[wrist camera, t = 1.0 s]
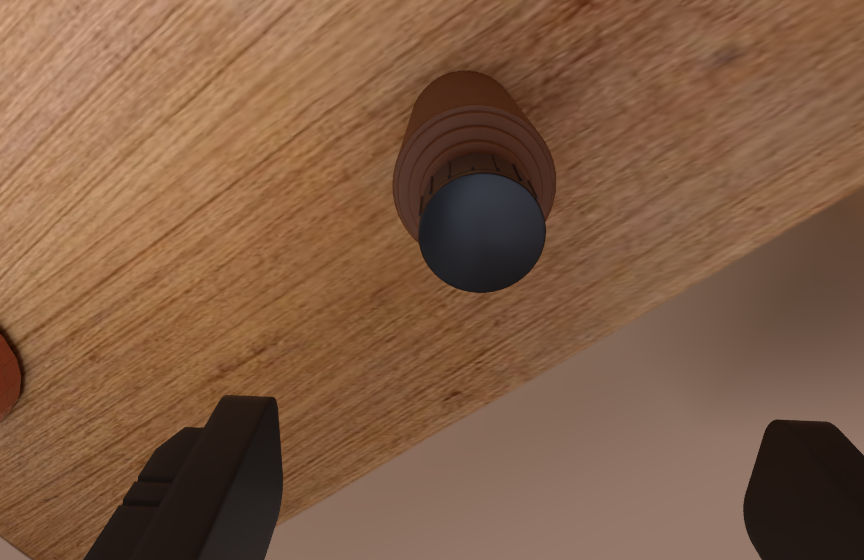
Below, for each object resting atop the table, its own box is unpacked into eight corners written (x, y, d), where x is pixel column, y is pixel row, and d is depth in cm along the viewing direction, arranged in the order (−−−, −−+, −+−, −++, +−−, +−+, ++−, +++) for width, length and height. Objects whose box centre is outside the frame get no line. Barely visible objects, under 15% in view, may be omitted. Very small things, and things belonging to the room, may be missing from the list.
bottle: (512, 181, 38) (569, 324, 21) (409, 176, 38) (379, 316, 21) (522, 72, 36) (596, 132, 18) (411, 68, 36) (381, 123, 18)
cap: (528, 264, 22) (539, 296, 20) (418, 259, 22) (415, 291, 20) (541, 154, 21) (554, 174, 18) (422, 149, 21) (419, 168, 18)
